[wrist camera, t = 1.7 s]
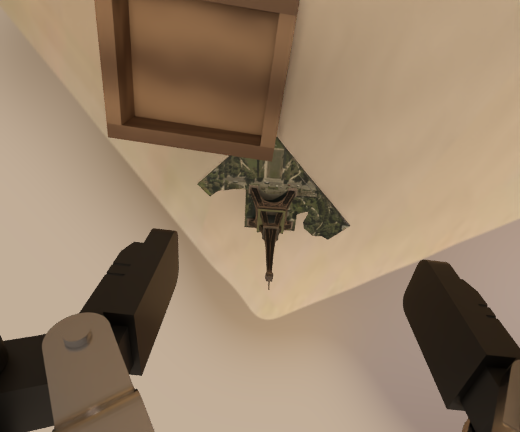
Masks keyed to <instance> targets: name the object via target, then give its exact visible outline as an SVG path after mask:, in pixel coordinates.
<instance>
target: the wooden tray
mask: <svg viewBox="0 0 520 432" xmlns="http://www.w3.org/2000/svg"><path fill="white" fill-rule="evenodd" d="M94 1H95V11H96V21H97V31H98V40H99V50H100V60H101V70H102V80H103V90H104V100H105V110H106V120H107V130H108V137H110V138H117V139H124V140H131V141H137V142H144V143H151V144H157V145H164V146H171V147H177V148H184V149H191V150H197V151H204V152H211V153H217V154H224V155H231V156H237V157H244V158H251V159H257V160H264V161H271V162H272V158H273V153H274V147H275V141H276V135H277V129H278V123H279V117H280V111H281V106H282V100H283V94H284V88H285V82H286V76H287V70H288V64H289V59H290V53H291V47H292V41H293V35H294V29H295V23H296V17H297V12H298V6H299V0H94Z"/></svg>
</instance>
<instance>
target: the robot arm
mask: <svg viewBox="0 0 520 432" xmlns="http://www.w3.org/2000/svg"><path fill="white" fill-rule="evenodd" d="M178 270H179V261H178V234H177V231H172V230H162V229H152V230H151V232H150V233H149V235H148V237H147V238H146V240H145V242H144V243H140V242H134V243H132V244H130V245H129V246H128V247H126V248H125V249H124V250H122V251H121V252H120V253H119V255H118V256H117V258H116V259H115V261H114V262H113V265H111V267H110V268H109V270H108V271H107V274H106V275H105V276H104V277H103V279H102V280H101V282H100V283H99V285H98V286H97V288H96V289H95V291H94V292H93V293H92V295H91V296H90V298H89V299H88V301H87V302H86V304H85V305H84V307H83V308H82V310H81V312H80V313H78V314H75V315H71V316H69V317H66V318H65V319H63V320H61V321H60V322H58V323H56V324H55V325H54V326H53V327H52V328H51V329H50V330H49V331H48V333H47V334H43V335H38V336H32V337H26V338H20V339H13V340H7V341H3V340H2V338H1V336H0V432H28V431H33V430H37V429H41V428H46V427H50V426H54V430H53V431H52V432H154V429H153V427H152V424H151V421H150V418H149V416H148V413H147V411H146V408H145V405H144V403H143V400H142V398H141V396H140V393H139V391H138V390H137V389H134V387H133V384H132V382H131V379H130V376H129V374H131V375H140V376H142V374H143V371H144V368H145V366H146V363H147V361H148V358H149V355H150V353H151V350H152V347H153V345H154V342H155V339H156V337H157V334H158V331H159V329H160V326H161V324H162V321H163V318H164V315H165V313H166V310H167V308H168V305H169V302H170V300H171V297H172V294H173V292H174V289H175V286H176V283H177V278H178ZM403 308H404V312H405V315H406V317H407V319H408V321H409V324H410V326H411V328H412V330H413V333H414V335H415V337H416V340H417V342H418V344H419V346H420V349H421V351H422V353H423V355H424V358H425V360H426V362H427V365H428V367H429V369H430V371H431V374H432V376H433V378H434V381H435V383H436V385H437V387H438V390H439V392H440V394H441V396H442V399H443V401H444V403H445V405H446V408H447V409H452V410H462V411H466V414H467V415H468V420H467V421H466V422H465V424H464V426H463V429H462V432H520V348H519V347H518V345H517V344H516V343H515V341H514V340H513V338H512V337H511V336H510V334H509V333H508V332H507V330H506V329H505V328H504V326H503V325H502V324H501V322H500V321H499V320H498V319H496V316H495V314H494V313H493V312H492V310H491V309H490V308H489V307H487V303H486V302H485V301H484V300H483V298H482V297H481V295H480V294H479V293H478V291H476V290H475V289H474V288H473V287H471V286H470V285H469V284H468V283H467V282H465V281H464V280H463V279H460V278H459V277H458V275H457V274H456V272H455V271H454V269H453V268H452V267H451V265H450V264H448V263H447V262H440V261H431V260H421V261H420V262H419V263H418V265H417V267H416V269H415V272H414V274H413V276H412V278H411V280H410V282H409V285H408V287H407V289H406V291H405V294H404V297H403Z"/></svg>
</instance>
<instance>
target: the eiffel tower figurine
mask: <svg viewBox="0 0 520 432" xmlns="http://www.w3.org/2000/svg"><path fill="white" fill-rule="evenodd" d="M198 185H199V186H200V187H201V188H202V189H203V190H204V191H205V192H206V193H207V194H208V195H209V196H211V195H213V194H214V193H215V192H217V191H219V190H229V189H246V206H245V227H253V228H257V232H261V233H262V239H263V240H264V241H265V247H266V265H267V273H266V276H265V279H266V281H268V282H270V281H272V279H273V273H272V264H273V254H274V247H275V242H276V241H277V240H278V235H279V233H282V234H283V230H292V231H294V229H295V222H296V215H297V214H299V213H303V212H308V215H307V217H306V219H305V220H304V222H303V224H304V229H305V230H307V231H308V232H309V233H310V234H311V235H312V236H323V237H324V238H326V239H327V240H328V239H330V238H331V237H333V236H334V235H336V234H338V233H339V232H341V231H343V230H344V229H346V228H348V227H349V226H350V225H349V224H348V223H347V222H346V220H345V219H344V218H343V217H342V216H341V214H340V213H339V212H338V211H337V209H336V208H335V207H334V206H333V205H332V203H331V202H330V201H329V200H328V198H327V197H326V196H325V195H324V194H323V193H322V191H321V190H320V189H319V188H318V187H317V186H316V184H315V183H314V182H313V181H312V180H311V178H310V177H309V176H308V175H307V174H306V172H305V171H304V170H303V169H302V168H301V166H300V165H299V164H298V163H297V161H296V160H295V159H294V158H293V157H292V155H291V154H290V153H289V152H288V150H287V149H286V148H285V147H284V145H283V144H282V143H281V141H280V140H279V139H278V137H276V141H275V147H274V153H273V158H272V162H271V161H264V160H257V159H251V158H244V157H237V156H231V155H230V156H229V157H228V158H227V159H226V160H225V161H223V162H222V163H221V164H220V165H219V166H218V167H217V168H216V169H214V170H213V171H212V172H211V173H210V174H209V175H208V176H207V177H205V178H204V179H203V180H202V181H201V182H200V183H198ZM268 290H269V283H268Z"/></svg>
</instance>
